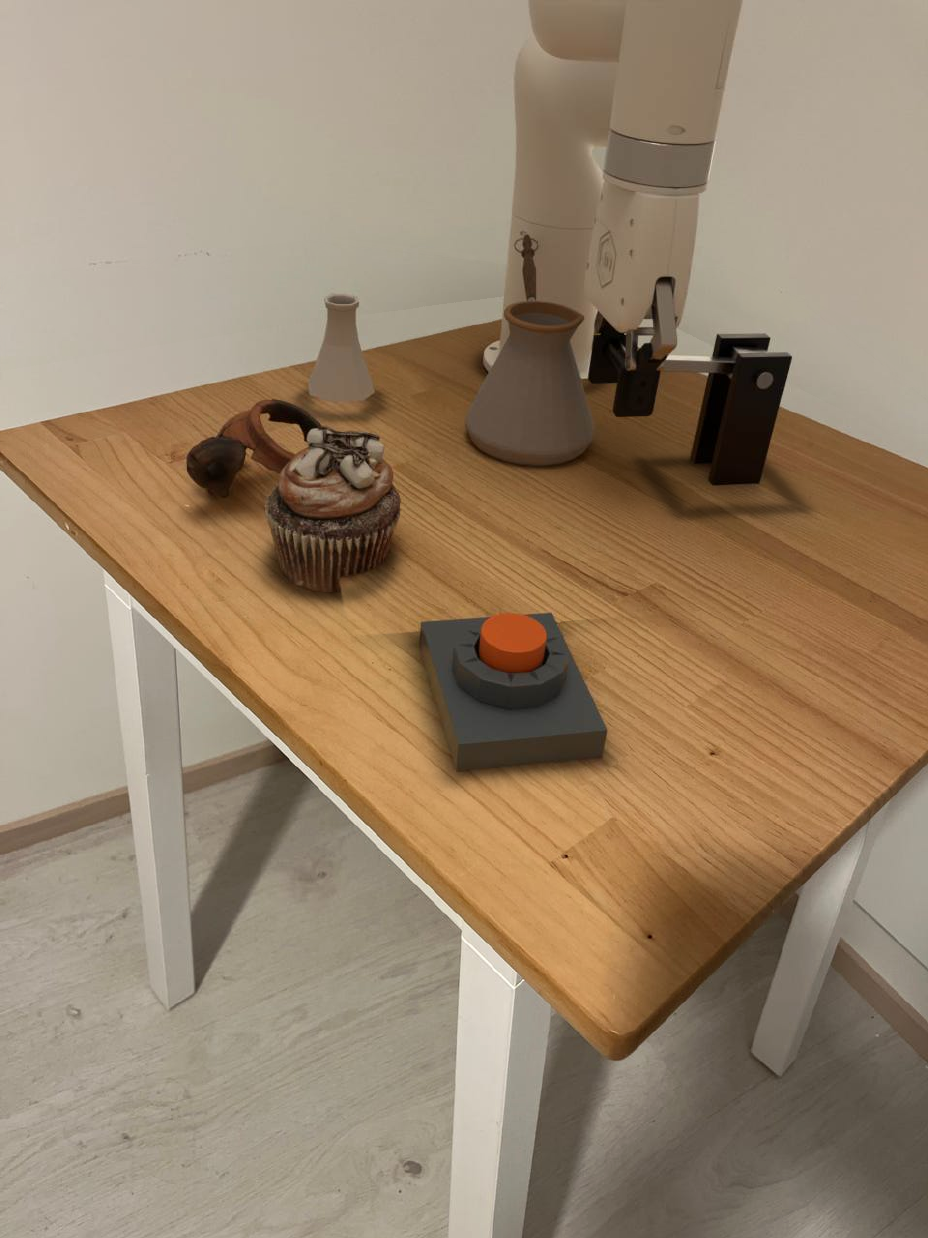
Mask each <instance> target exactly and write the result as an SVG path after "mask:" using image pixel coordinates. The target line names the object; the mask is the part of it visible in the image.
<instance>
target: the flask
mask: <svg viewBox="0 0 928 1238" xmlns="http://www.w3.org/2000/svg"><path fill="white" fill-rule="evenodd" d="M323 301H324V306H325V308H326V309H327V315H326V316H327V318H326V319H327V321H326V325H325V330H324V336H323V340H322V343H321V346H320V349H319V351H318V355H317V357H316V360H315V364H314V366H313V369H312V372H311V374H310V377H309V380H308V383H307V389H308V394H309V396H311V397H314V398H317V399H321V400H325V401H329V402H331V403H360V402H363V401H365V400H366V399H367V398H369V397H370V396H372V395H373V394H375V393H376V391H375V388H374V385H373V380H372V378H371V376H370V372H369V369H368V367H367V364H366V361H365V357H364V354H363V351H362V348H361V345H360V341H359V334H358V328H357V309H359V306H360V299H359V296H358V295H353V294H350V293H349V294H348V293H330V294H328V295H326V296H324V297H323Z"/></svg>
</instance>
